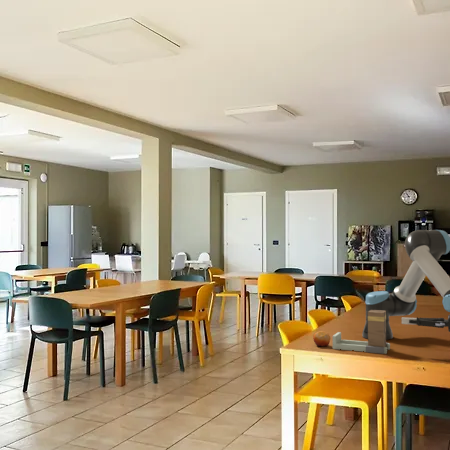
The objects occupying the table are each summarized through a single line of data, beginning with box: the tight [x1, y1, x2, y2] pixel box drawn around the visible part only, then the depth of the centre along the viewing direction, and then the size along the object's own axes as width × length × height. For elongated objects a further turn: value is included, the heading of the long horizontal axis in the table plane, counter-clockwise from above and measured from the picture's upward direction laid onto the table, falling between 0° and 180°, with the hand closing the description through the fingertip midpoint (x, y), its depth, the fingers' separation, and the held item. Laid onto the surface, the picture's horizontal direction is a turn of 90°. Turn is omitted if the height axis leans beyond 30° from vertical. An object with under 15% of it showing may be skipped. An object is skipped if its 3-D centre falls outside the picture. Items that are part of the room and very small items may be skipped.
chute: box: [332, 331, 391, 355], centre depth 258 cm, size 13×24×6 cm, turn 65°
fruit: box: [313, 330, 331, 347], centre depth 265 cm, size 8×8×8 cm
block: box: [367, 310, 387, 347], centre depth 255 cm, size 7×7×18 cm
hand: (401, 320), depth 250 cm, fingers closed
